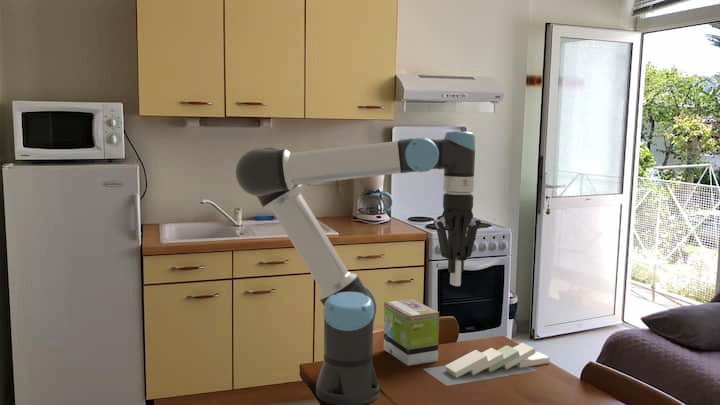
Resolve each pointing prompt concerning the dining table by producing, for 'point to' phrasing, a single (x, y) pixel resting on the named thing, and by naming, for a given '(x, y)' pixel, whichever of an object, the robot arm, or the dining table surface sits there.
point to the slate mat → (449, 379)
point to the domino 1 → (466, 363)
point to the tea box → (411, 331)
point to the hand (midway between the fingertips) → (455, 284)
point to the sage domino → (505, 357)
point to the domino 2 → (492, 358)
